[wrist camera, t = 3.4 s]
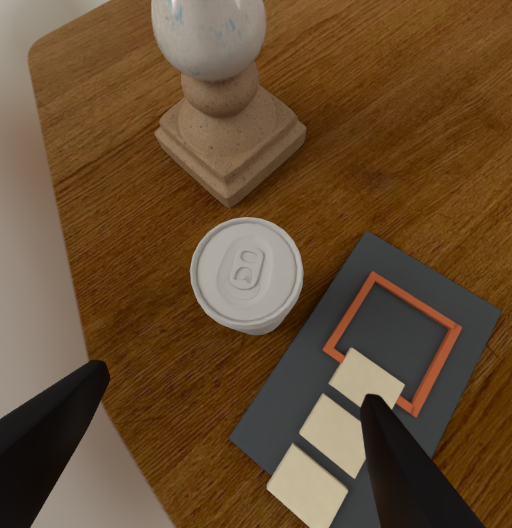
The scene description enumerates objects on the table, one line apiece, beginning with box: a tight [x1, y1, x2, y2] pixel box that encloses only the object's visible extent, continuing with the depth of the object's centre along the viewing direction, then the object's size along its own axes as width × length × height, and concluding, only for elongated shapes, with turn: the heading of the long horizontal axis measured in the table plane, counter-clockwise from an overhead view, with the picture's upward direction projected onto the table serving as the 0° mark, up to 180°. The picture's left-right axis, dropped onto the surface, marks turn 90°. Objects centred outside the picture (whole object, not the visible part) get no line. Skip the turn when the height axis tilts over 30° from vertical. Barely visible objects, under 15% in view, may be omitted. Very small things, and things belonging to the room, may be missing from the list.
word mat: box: [229, 231, 502, 528], centre depth 19 cm, size 21×12×1 cm, turn 144°
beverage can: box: [190, 217, 303, 335], centre depth 16 cm, size 5×5×12 cm
